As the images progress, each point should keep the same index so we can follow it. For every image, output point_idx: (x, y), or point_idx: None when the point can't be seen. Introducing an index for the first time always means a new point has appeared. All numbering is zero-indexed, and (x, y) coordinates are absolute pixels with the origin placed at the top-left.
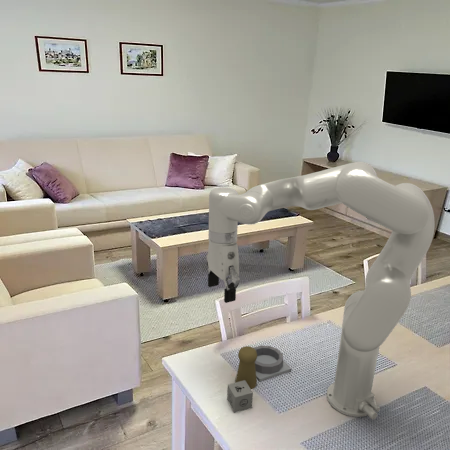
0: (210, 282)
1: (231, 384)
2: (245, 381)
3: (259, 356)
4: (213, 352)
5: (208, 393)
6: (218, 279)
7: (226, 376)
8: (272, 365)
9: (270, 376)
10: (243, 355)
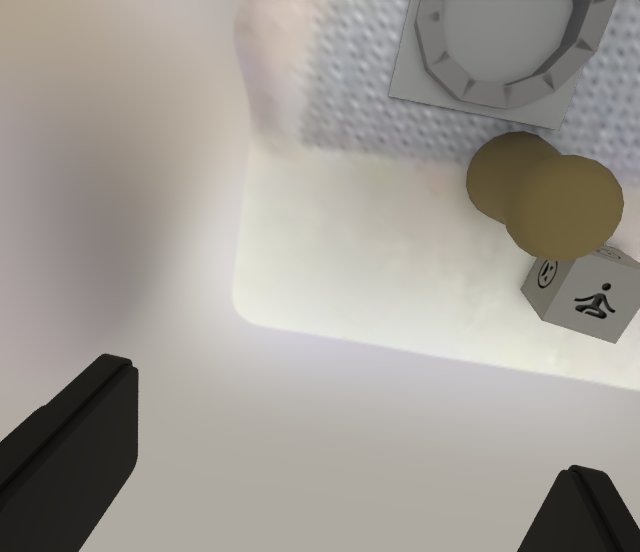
0: (102, 506)
1: (553, 309)
2: (589, 256)
3: (445, 6)
4: (277, 160)
5: (451, 316)
6: (85, 425)
7: (428, 214)
8: (593, 40)
9: (581, 68)
10: (575, 258)
